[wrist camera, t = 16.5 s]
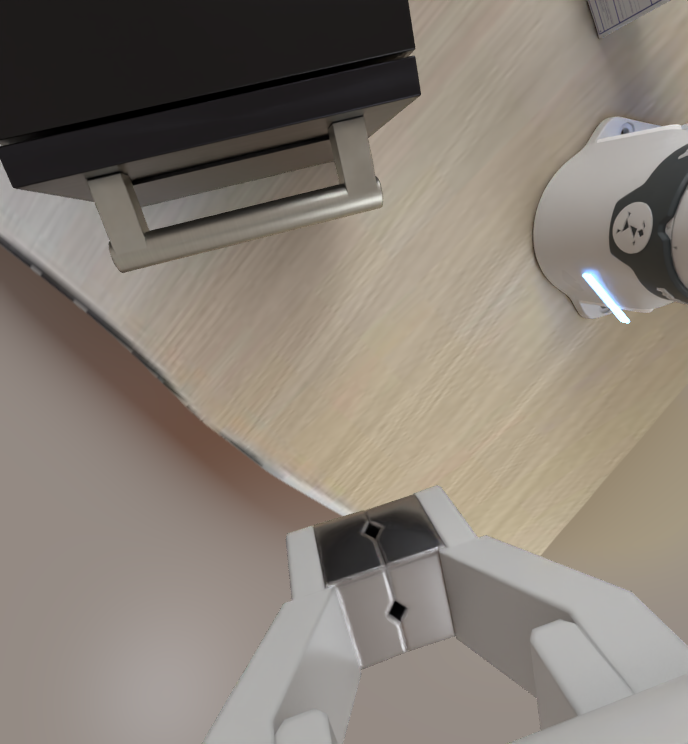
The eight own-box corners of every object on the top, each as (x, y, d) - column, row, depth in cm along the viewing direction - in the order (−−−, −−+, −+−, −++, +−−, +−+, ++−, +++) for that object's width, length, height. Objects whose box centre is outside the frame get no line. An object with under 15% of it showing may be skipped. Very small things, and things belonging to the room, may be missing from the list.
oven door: (354, 210, 40) (437, 194, 22) (152, 261, 39) (58, 290, 20) (338, 138, 38) (415, 54, 20) (125, 188, 37) (-7, 146, 18)
